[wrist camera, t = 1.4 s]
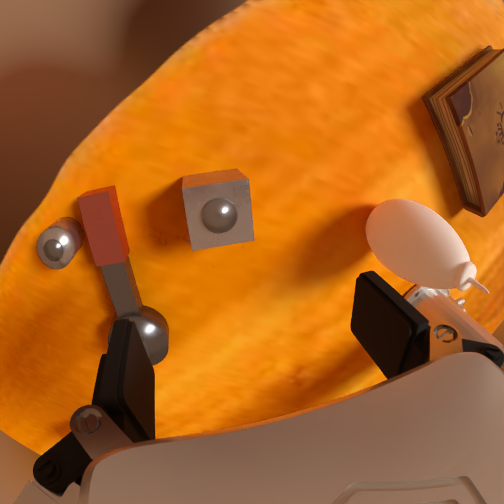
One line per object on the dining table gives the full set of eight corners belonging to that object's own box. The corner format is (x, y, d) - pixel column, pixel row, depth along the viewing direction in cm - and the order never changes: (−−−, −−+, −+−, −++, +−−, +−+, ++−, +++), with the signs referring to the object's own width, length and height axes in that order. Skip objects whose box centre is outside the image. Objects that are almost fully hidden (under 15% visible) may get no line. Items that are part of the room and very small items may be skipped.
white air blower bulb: (338, 233, 33) (445, 322, 17) (373, 176, 31) (501, 231, 15) (379, 259, 36) (475, 341, 20) (410, 209, 34) (520, 270, 18)
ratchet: (133, 181, 26) (119, 195, 21) (174, 346, 35) (175, 382, 29) (70, 195, 25) (44, 213, 20) (123, 353, 34) (117, 388, 28)
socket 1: (78, 213, 26) (64, 226, 22) (88, 249, 28) (76, 266, 24) (47, 221, 26) (31, 235, 22) (58, 255, 27) (43, 272, 24)
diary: (460, 207, 37) (486, 219, 32) (418, 96, 29) (450, 97, 24) (517, 138, 34) (540, 144, 29) (487, 45, 26) (512, 45, 21)
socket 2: (236, 168, 28) (249, 179, 22) (241, 218, 30) (255, 241, 25) (183, 176, 27) (181, 189, 22) (190, 227, 29) (192, 252, 24)
